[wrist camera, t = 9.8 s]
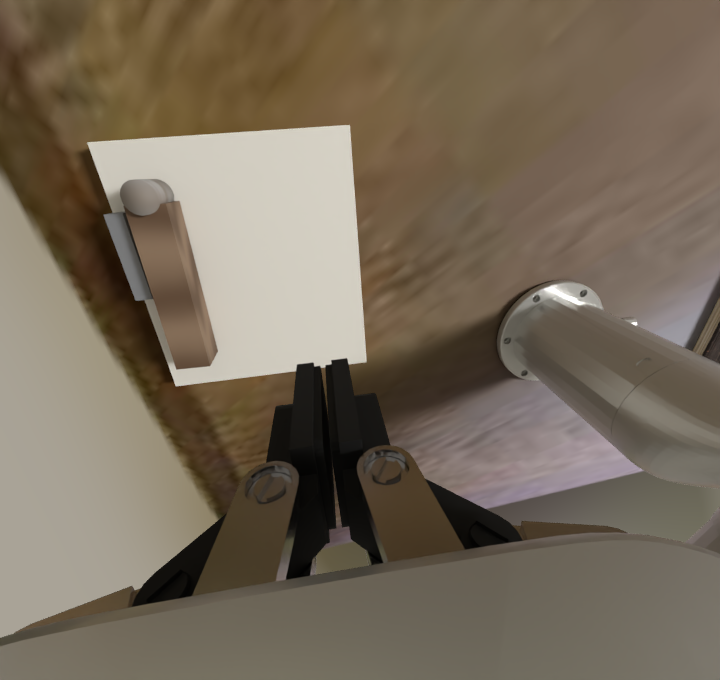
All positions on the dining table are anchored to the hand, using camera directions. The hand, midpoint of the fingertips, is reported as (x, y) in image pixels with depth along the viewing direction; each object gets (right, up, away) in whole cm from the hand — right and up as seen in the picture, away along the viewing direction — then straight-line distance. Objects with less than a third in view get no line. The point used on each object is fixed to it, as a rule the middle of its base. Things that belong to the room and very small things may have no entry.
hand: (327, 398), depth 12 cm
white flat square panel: (-9, +9, +22) cm, 25 cm away
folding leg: (-15, +8, +19) cm, 26 cm away
